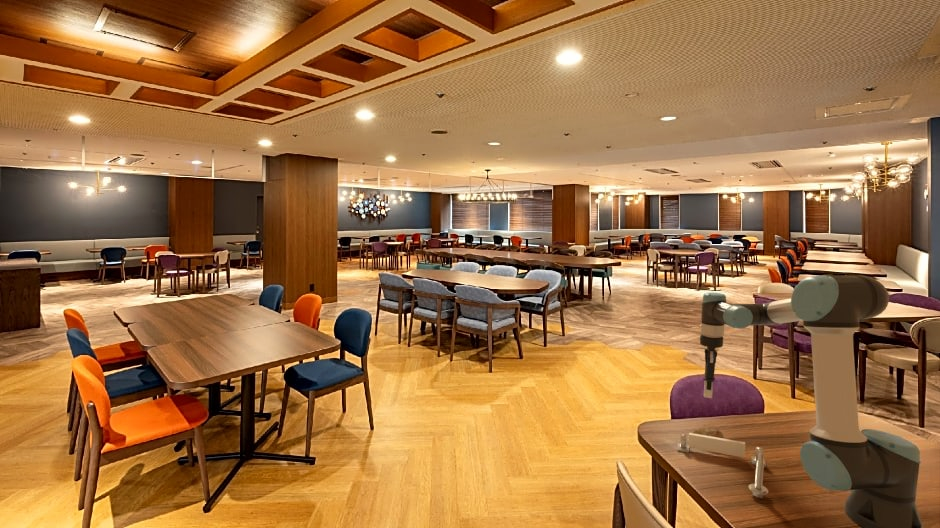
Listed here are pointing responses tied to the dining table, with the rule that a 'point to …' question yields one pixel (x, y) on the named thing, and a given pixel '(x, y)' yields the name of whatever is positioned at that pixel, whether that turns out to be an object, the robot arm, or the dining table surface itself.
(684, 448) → the grey small pieces
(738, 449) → the gate
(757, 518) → the dining table surface
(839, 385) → the robot arm
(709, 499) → the dining table surface
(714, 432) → the bread roll
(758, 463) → the screw
